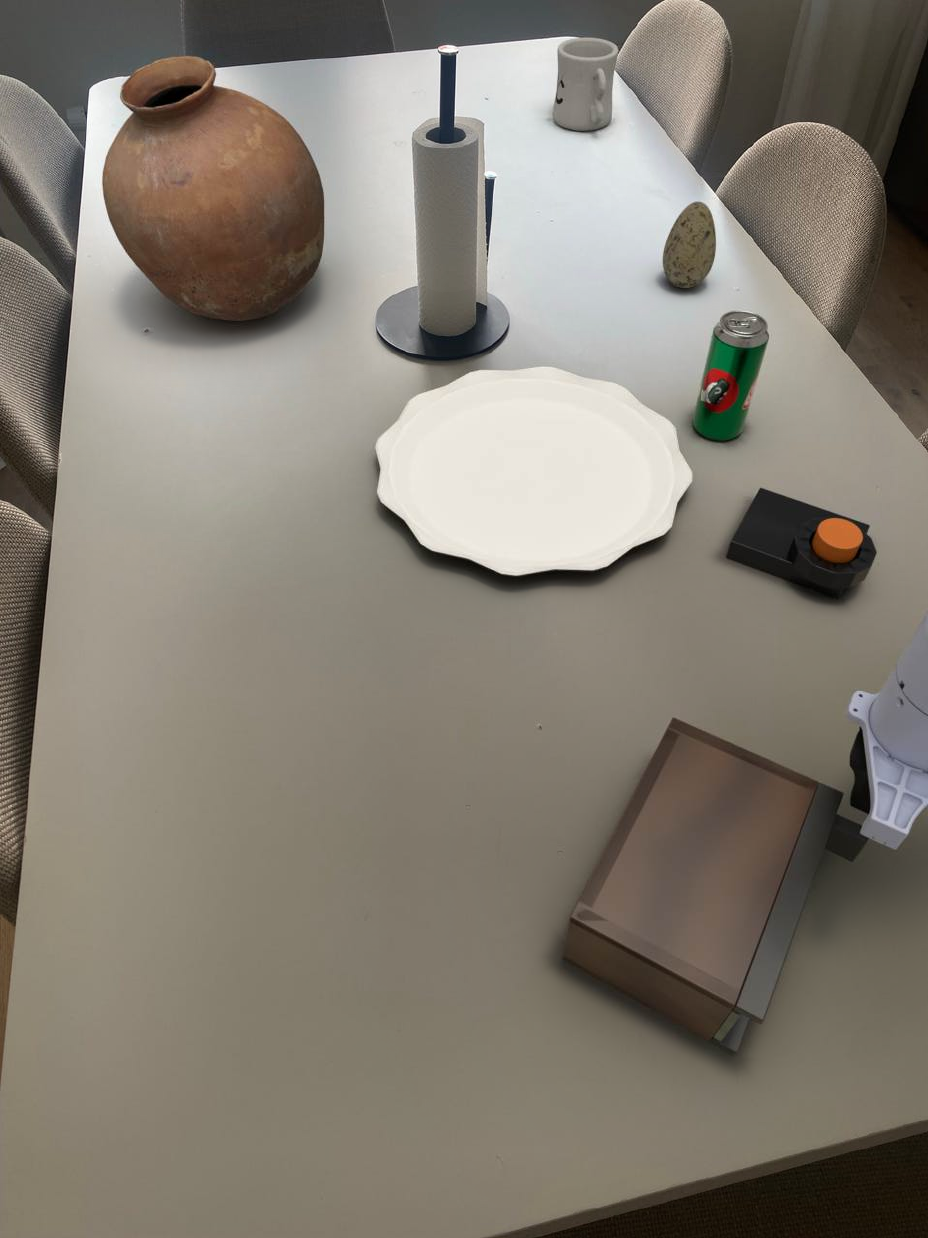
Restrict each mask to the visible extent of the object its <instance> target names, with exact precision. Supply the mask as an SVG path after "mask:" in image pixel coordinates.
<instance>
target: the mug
mask: <svg viewBox="0 0 928 1238" xmlns="http://www.w3.org/2000/svg"><path fill="white" fill-rule="evenodd" d="M556 51H557V80H556V91H555V98H554V104H553V107H552V117H553V121H554V122H555V123H556V124H557V125H559V126H560V127H562V128H564V129H567V130H571V131H578V132H579V131H581V132H585V131H586V132H588V131H596V130H600V129H602V128H604V127H605V126H607V125H608V124H609V123H610V122H611V120H612V117H613V87H614V75H615V69H616V66H617V60H618V55H619V47H618V46H617V45H616V44H615V43H614V42H612V41H609V40H607V39H604V38H603V39H602V38H597V37H575V38H570V39H567V40H564V41H562V42H561V43H560V44H559V45H558V46H557V49H556Z"/></svg>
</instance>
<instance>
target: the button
mask: <svg viewBox="0 0 928 1238" xmlns="http://www.w3.org/2000/svg"><path fill="white" fill-rule="evenodd" d="M862 540H863V535H862V532H861V530H860V529H859V528H858V527H857V526H856V525H855V524H853V523H852V522H850V521H847V520H844V519H839V518H830V519H826V520H824V521H822V522H821V523H820V524H819V526H818V528H817V531H816V533H815V536H814V538H813V541H812V547H813V550H814V552H815V553H816V554H817V555H818V556H820V557H821V558H823V559H825V560H828V561H831V562H834V563H846V562H849V561H851V560H852V559H853V558H854V557H855V555H856V553H857V551H858V549H859V547H860V545H861V543H862Z"/></svg>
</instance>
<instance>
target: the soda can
mask: <svg viewBox="0 0 928 1238" xmlns="http://www.w3.org/2000/svg"><path fill="white" fill-rule="evenodd" d="M768 327H769V326H768V322H767V320H766V318H764V317H763V316H762V315H760V314H758V313H755V312H752V311H749V310H731V311H728V312H725V313H724V314H723V315H721V316H720V318H719V321H718V322H717V323H716V324H715V325H714V326H713V330H712V335H711V338H710V341H709V342H710V343H709V347H708V351H707V356H706V360H705V363H704V364H705V365H704V369H703V374H702V377H701V381H700V385H699V389H698V395H697V399H696V403H695V407H694V412H693V416H692V425H693V427H694V429H695V431H697V432H698V434H699V435H701V436H702V437H703V438H705V439H708V440H711V441H716V442H725V441H730V440H732V439H734V438H736V437H737V436H739V435H741V434H742V432H743V430H744V428H745V423H746V421H747V416H748V413H749V410H750V406H751V403H752V399H753V396H754V392H755V389H756V385H757V381H758V379H759V374H760V371H761V367H762V363H763V361H764V357H765V354H766V350H767V347H768V344H769V340H770V334H769V332H768Z"/></svg>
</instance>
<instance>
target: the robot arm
mask: <svg viewBox="0 0 928 1238" xmlns="http://www.w3.org/2000/svg"><path fill="white" fill-rule="evenodd" d="M845 717H846V718H847V720H848V721H849V722H852V723H854V724H856V725H858V726H859V727H858V729H859V730H858V732H857V733H856V736H855V739H854V741H853V744H852V746H851V750H850V753H849V767H850V769H851V770H852V772H853V774H854V775H853V776H854V777H853V778H854V781H853V785H852V788H851V792H850V797H849V806H850V807H851V808H853V809H856V810H858V811H860V812H862V813H865V814H867V816H866V818H865V819H864V821H863V822H862V824H861V825H862V828H861V831H860V834H862V835H864V836H866V837H868V838H869V839H870V840H871V841H874V842H876V843H879V844H881V845H883V846H886V847H888V848H890V849H892V850H894V851H895V850H898V848H899V847H900V845H901V844H902V843H903V841H904V840H906V838H907V837H908V835H909V834H910V831H911V828H912V826H913V824H914V822H915V820H916V818H917V817H918V816H919V815H920V814H921V813H922V812H923V810H925V808H926V807H928V611H927V612H926V613H925V615H924V616H923V618H922V620H921V622H920V623H919V625H918V627H917V628H916V630H915V631H914V633H913V636H912V637H911V638H910V639H909V642H908V644H907V645H906V647H905V648H904V650H903V652H902V653H901V655H900V656H899V659H898V660H897V662H896V664H895V665H894V667H893V669H892V671H891V673H890V674H889V676H888V678H887V679H886V681H885V683H884V684H883V686H882V688H881V689H880V691H878V692H877V693H873V694H872V693H869V692H867V691H863V690H856V691H855V692H854V693H853V694H852V696H851V698H850V700H849V702H848V705H847V708H846V711H845Z"/></svg>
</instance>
